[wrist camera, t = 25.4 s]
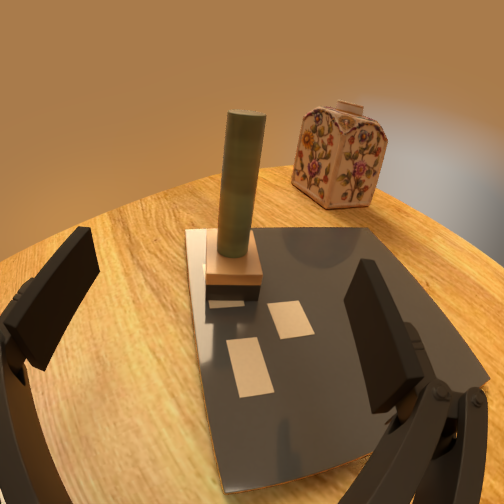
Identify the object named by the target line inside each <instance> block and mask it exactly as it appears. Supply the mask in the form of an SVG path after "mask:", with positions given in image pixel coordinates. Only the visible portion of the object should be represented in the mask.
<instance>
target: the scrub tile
mask: <svg viewBox="0 0 504 504" xmlns="http://www.w3.org/2000/svg"><path fill="white" fill-rule="evenodd" d="M216 229H218V228H216ZM251 230H252V231H253V234H254V239H255V243H256V247H257V251H258V256H259V260H260V264H261V269H262V273H263V278H262V283H261V289H260V294H259V299H258V301H213V300H205V278H206V236H207V229H185V246H186V259H187V271H188V282H189V292H190V302H191V311H192V320H193V328H194V336H195V344H196V351H197V359H198V366H199V372H200V379H201V385H202V391H203V397H204V403H205V409H206V415H207V420H208V425H209V431H210V436H211V441H212V446H213V451H214V455H215V460H216V465H217V469H218V473H219V478H220V482H221V486H222V490H223V494H224V495H229V494H236V493H242V492H248V491H253V490H259V489H264V488H268V487H273V486H277V485H281V484H285V483H289V482H293V481H297V480H300V479H304V478H307V477H310V476H313V475H317V474H320V473H323V472H326V471H329V470H332V469H334V468H337V467H340V466H343V465H345V464H348V463H350V462H353V461H355V460H358V459H360V458H363V457H365V456H367V455H369V454H372V453H373V452H374V450H375V448H376V447H377V445H378V443H379V442H380V440H381V438H382V436H383V435H384V433H385V431H386V429H387V427H388V425H389V424H390V423H388V424H387V425H385V422H386V421H387V420H388V419H390V418H391V417H392V416H393V415H394V414H395V413H397V410H396V406H394V407H393V408H392V409H391V410H390V411H389V412H387V413H380V414H372V413H371V408H370V403H369V398H368V394H367V389H366V385H365V381H364V376H363V372H362V368H361V364H360V360H359V356H358V352H357V348H356V344H355V340H354V337H353V333H352V329H351V326H350V322H349V318H348V315H347V311H346V308H345V305H344V301H343V300H344V297H345V295H346V293H347V290H348V288H349V286H350V283H351V281H352V278H353V276H354V274H355V271H356V269H357V266H358V264H359V261H360V259H361V258H363V259H371V260H375V262H376V264H377V266H378V268H379V270H380V272H381V274H382V276H383V278H384V280H385V282H386V285H387V287H388V289H389V291H390V293H391V295H392V297H393V300H394V302H395V304H396V306H397V308H398V311H399V313H400V315H401V317H402V320H403V322H411V324H412V325H413V326H414V327H415V328H416V330H417V331H418V333H419V335H420V338H421V340H422V341H421V342H423V345H424V347H425V350H426V352H427V354H428V357H429V359H430V362H431V364H432V367H433V370H434V372H435V375H436V377H437V379H439V380H442V381H444V382H445V383H446V384H448V386H449V387H450V389H451V391H455V392H461V393H465V392H466V391H467V390H468V389H469V388H471V387H478V388H481V387H482V386H484V385H485V384H486V383H487V382H488V381H489V380H490V377H489V375H488V374H487V372H486V371H485V369H484V368H483V366H482V365H481V363H480V362H479V360H478V359H477V358H476V356H475V355H474V353H473V352H472V350H471V349H470V348H469V346H468V345H467V343H466V342H465V341H464V339H463V338H462V337H461V335H460V334H459V332H458V331H457V330H456V328H455V327H454V326H453V325H452V323H451V322H450V321H449V319H448V318H447V317H446V315H445V314H444V313H443V312H442V310H441V309H440V308H439V307H438V305H437V304H436V303H435V302H434V301H433V299H432V298H431V297H430V296H429V294H428V293H427V292H426V291H425V290H424V289H423V287H422V286H421V285H420V284H419V283H418V282H417V280H416V279H415V278H414V277H413V276H412V275H411V273H410V272H409V271H408V270H407V269H406V268H405V267H404V266H403V264H402V263H401V262H400V261H399V260H398V259H397V258H396V257H395V256H394V255H393V254H392V252H391V251H390V250H389V249H388V248H387V247H386V246H385V245H384V244H383V243H382V242H381V241H380V240H379V239H378V238H377V237H376V236H375V235H374V234H373V233H372V232H371V231H370V229H369V228H357V227H280V228H251Z"/></svg>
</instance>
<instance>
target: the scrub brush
mask: <svg viewBox="0 0 504 504" xmlns="http://www.w3.org/2000/svg"><path fill="white" fill-rule="evenodd" d="M265 122H266V114H264V113H260V112H255V111H248V110H229V111H228V115H227V125H226V134H225V135H226V136H225V145H224V156H223V166H222V178H221V190H220V203H219V217H218V229H207V236H206V278H205V300H213V301H258V299H259V294H260V289H261V283H262V278H263V273H262V269H261V264H260V260H259V256H258V251H257V247H256V243H255V239H254V234H253V231H252V230H251V223H252V216H253V208H254V201H255V194H256V187H257V179H258V172H259V165H260V158H261V151H262V143H263V137H264V129H265Z"/></svg>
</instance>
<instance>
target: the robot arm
mask: <svg viewBox="0 0 504 504" xmlns="http://www.w3.org/2000/svg"><path fill="white" fill-rule="evenodd" d="M99 272H100V270H99V265H98V261H97V257H96V252H95V248H94V243H93V238H92V233H91V228H89V227H80V226H78V227H77V228H76V230H75V231H74V232H73V233H72V234H71V235H70V236H69V237H68V238H67V239H66V241H65V242H64V243H63V244H62V245H61V246H60V247H59V249H58V250H57V251H56V252H55V253H54V254H53V256H52V257H51V258H50V259H49V260H48V262H47V263H46V264H45V265H44V267H43V268H42V269H41V270H40V272H39V273H38V274H37V275H36V277H35V278H30V279H29V280H28V281H27V282H25V283H24V284H23V285H22V286H21V288H20V289H19V290H18V292H17V294H15V296H14V297H13V300H11V301H10V303H9V304H8V306H7V307H6V308H5V310H4V311H3V313H2V314H1V316H0V489H1V491H2V494H3V497H4V499H5V502H6V504H73V503H72V501H71V499H70V497H69V495H68V493H67V491H66V489H65V487H64V485H63V483H62V481H61V478H60V476H59V474H58V472H57V469H56V467H55V464H54V462H53V460H52V457H51V454H50V452H49V449H48V446H47V444H46V441H45V438H44V435H43V432H42V429H41V426H40V422H39V419H38V416H37V412H36V409H35V405H34V401H33V397H32V393H31V388H30V384H29V379H28V374H27V369H26V366H25V364H24V361H25V359H26V358H27V360H28V361H29V363H30V364H31V365H32V366H33V367H35V368H38V369H40V370H43V371H45V370H46V368H47V366H48V364H49V362H50V359H51V357H52V355H53V353H54V351H55V349H56V347H57V345H58V343H59V342H60V340H61V338H62V336H63V334H64V332H65V330H66V328H67V326H68V325H69V323H70V321H71V319H72V317H73V316H74V314H75V312H76V310H77V309H78V307H79V305H80V303H81V302H82V300H83V298H84V297H85V295H86V293H87V292H88V290H89V288H90V287H91V285H92V284H93V282H94V280H95V279H96V277H97V276H98V274H99ZM343 301H344V305H345V308H346V311H347V315H348V318H349V322H350V326H351V329H352V333H353V337H354V340H355V344H356V348H357V352H358V356H359V360H360V364H361V368H362V372H363V376H364V381H365V385H366V389H367V394H368V398H369V403H370V408H371V413H372V414H380V413H387V412H389V411H390V410H391V409H392V408H393V407H394V406H396V410H397V413H395V414H394V415H393V416H392V417H391V418H390V419H388V420H387V421H386V422H385V425H387V424H388V423H390V424H389V425H388V427H387V429H386V431H385V433H384V435H383V436H382V438H381V440H380V442H379V443H378V445H377V447H376V448H375V450H374V452H373V453H372V455H371V456H370V458H369V460H368V461H367V463H366V464H365V466H364V467H363V469H362V470H361V472H360V473H359V475H358V476H357V478H356V479H355V481H354V482H353V484H352V485H351V486H350V488H349V489H348V490H347V492H346V493H345V495H344V496H343V497H342V498H341V500H340V501H339V502H338V504H410V502H411V500H412V498H413V496H414V494H415V497H414V500H413V503H412V504H479V502H480V497H481V491H482V485H483V478H484V471H485V462H486V451H487V432H488V402H487V397H486V395H485V393H484V392H483V391H482V390H481V389H480V388H478V387H471V388H469V389H468V390H467V391H466V392H465V393H461V392H455V391H451V389H450V387H449V386H448V384H446V383H445V382H444V381H442V380H439V379H437V377H436V375H435V372H434V370H433V367H432V364H431V362H430V359H429V357H428V354H427V352H426V350H425V347H424V345H423V342H421V341H422V340H421V338H420V335H419V333H418V331H417V330H416V328H415V327H414V326H413V325H412V324H411V322H403V320H402V317H401V315H400V313H399V311H398V308H397V306H396V304H395V302H394V300H393V297H392V295H391V293H390V291H389V289H388V287H387V285H386V282H385V280H384V278H383V276H382V274H381V272H380V270H379V268H378V266H377V264H376V262H375V260H371V259H363V258H361V259H360V261H359V264H358V266H357V269H356V271H355V274H354V276H353V278H352V281H351V283H350V286H349V288H348V290H347V293H346V295H345V297H344V300H343ZM456 432H457V438H456ZM415 492H416V493H415ZM0 504H1V500H0Z"/></svg>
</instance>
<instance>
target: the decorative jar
mask: <svg viewBox="0 0 504 504" xmlns="http://www.w3.org/2000/svg"><path fill="white" fill-rule="evenodd" d="M362 113H363V106H361V105H357V104H354V103H349V102H345V101H341V100H338V101H337V106H336V108H331V107H324V106H319V107H316V108H315V109H313V110H311V111H310V112H309V113H307V114H306V115H305V116H304V117H303V121H302V126H301V131H300V135H299V141H298V145H297V150H296V156H295V162H294V168H293V174H292V180H291V183H292V184H293V185H295V186H296V187H297V188H299V189H300V190H301V191H303V192H304V193H306V194H307V195H308V196H309V197H311V198H312V199H313V200H315V201H316V202H317V203H319V204H320V205H321V206H322V207H324V208H325V209H333V208H349V207H361V206H369V205H370V203H371V200H372V197H373V194H374V191H375V188H376V185H377V181H378V178H379V174H380V170H381V167H382V163H383V159H384V155H385V151H386V147H387V143H388V139H387V138H386V135H385V133H384V131H383V129H382V127H381V126H380V125H379V124H378V122H377V121H375V120H373V119H370V118H368V117H365V116H362Z"/></svg>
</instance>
